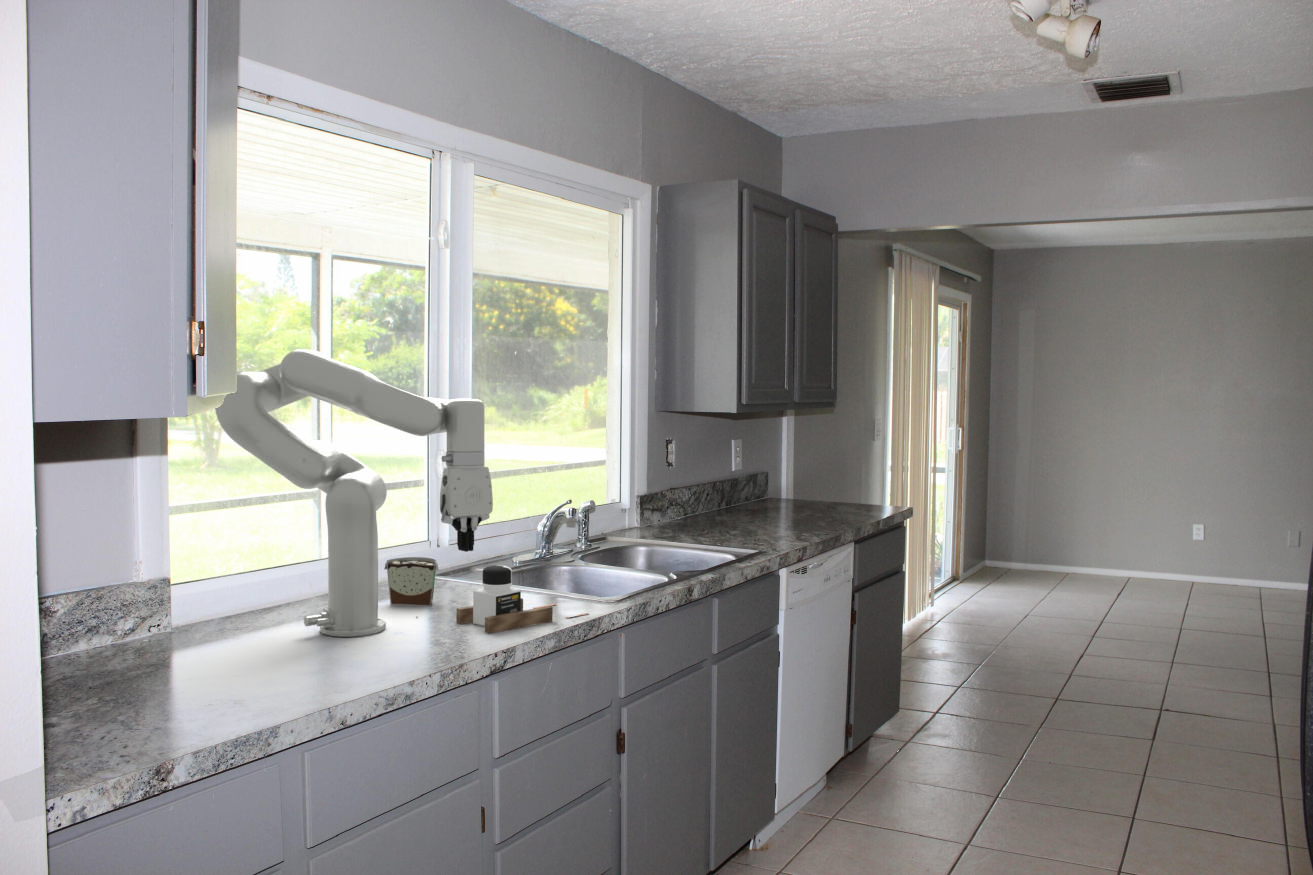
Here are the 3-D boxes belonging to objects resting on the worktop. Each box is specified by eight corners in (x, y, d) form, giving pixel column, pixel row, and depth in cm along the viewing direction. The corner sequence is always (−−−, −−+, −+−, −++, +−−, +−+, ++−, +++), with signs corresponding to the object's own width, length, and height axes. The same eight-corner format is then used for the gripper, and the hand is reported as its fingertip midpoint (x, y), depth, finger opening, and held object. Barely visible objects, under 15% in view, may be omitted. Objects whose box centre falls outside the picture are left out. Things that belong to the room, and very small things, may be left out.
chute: (488, 633, 190) (489, 618, 190) (456, 622, 199) (456, 608, 199) (552, 621, 202) (552, 607, 201) (519, 611, 210) (519, 597, 210)
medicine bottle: (496, 629, 194) (496, 571, 193) (472, 623, 198) (472, 566, 198) (521, 623, 200) (521, 566, 199) (497, 617, 204) (498, 562, 203)
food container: (446, 600, 219) (446, 557, 219) (437, 606, 213) (437, 562, 213) (394, 598, 221) (394, 555, 220) (384, 604, 214) (384, 560, 214)
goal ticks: (567, 618, 204) (567, 617, 204) (533, 608, 213) (533, 607, 213) (589, 614, 208) (589, 613, 208) (554, 604, 217) (554, 603, 217)
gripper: (443, 462, 184) (443, 557, 185) (507, 459, 194) (507, 548, 195) (422, 460, 189) (423, 552, 190) (486, 457, 200) (486, 544, 200)
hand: (465, 550), depth 193 cm, fingers closed
